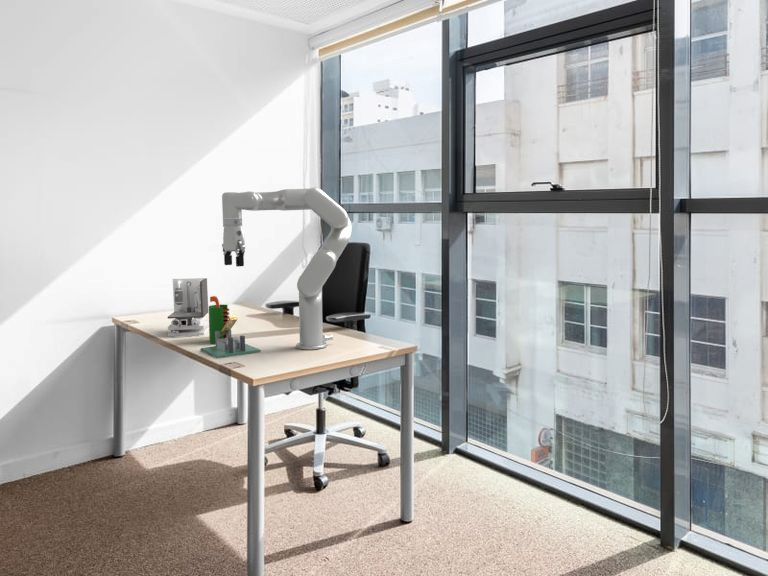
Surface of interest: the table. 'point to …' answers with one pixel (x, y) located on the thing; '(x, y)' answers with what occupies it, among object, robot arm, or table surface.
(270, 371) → the table surface
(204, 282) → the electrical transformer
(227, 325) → the strap
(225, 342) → the heat sink
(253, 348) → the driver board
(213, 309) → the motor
